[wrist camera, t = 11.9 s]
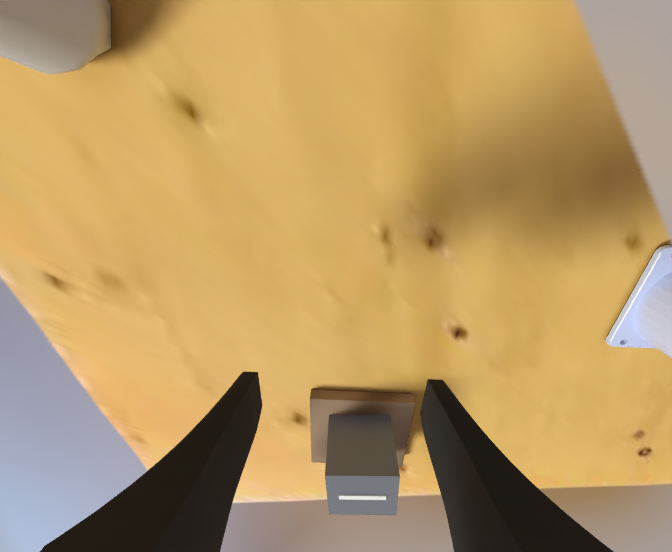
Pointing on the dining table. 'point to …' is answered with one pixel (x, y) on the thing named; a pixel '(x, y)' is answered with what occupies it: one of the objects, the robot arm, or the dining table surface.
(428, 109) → the dining table surface
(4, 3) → the salt shaker
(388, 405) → the base
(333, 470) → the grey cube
